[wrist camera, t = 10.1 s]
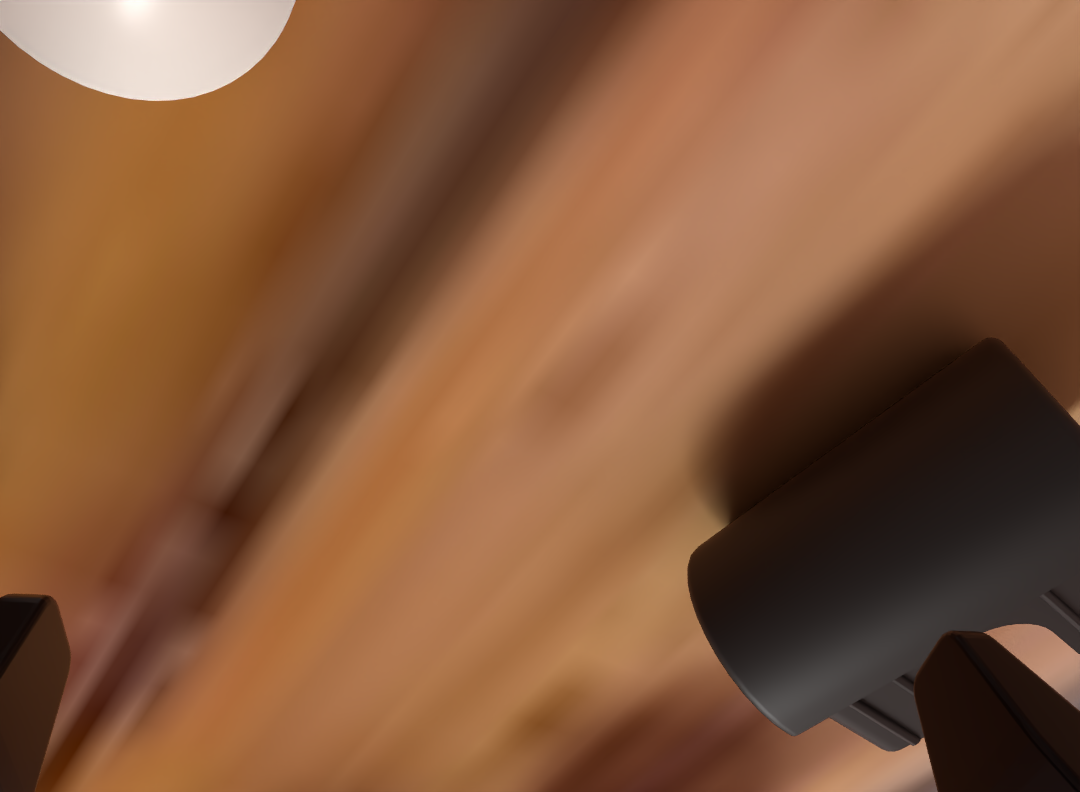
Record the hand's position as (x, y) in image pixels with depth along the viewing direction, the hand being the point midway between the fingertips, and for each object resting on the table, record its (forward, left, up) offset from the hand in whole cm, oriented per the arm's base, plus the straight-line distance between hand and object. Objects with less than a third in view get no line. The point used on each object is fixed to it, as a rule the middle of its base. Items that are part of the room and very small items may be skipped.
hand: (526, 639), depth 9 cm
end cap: (+12, -8, -13) cm, 20 cm away
